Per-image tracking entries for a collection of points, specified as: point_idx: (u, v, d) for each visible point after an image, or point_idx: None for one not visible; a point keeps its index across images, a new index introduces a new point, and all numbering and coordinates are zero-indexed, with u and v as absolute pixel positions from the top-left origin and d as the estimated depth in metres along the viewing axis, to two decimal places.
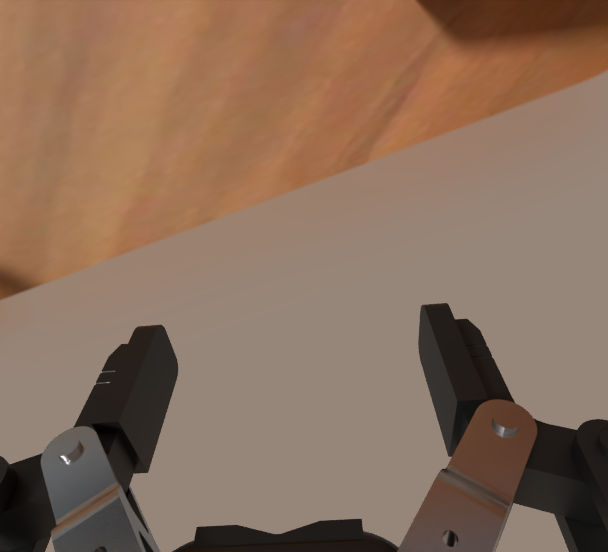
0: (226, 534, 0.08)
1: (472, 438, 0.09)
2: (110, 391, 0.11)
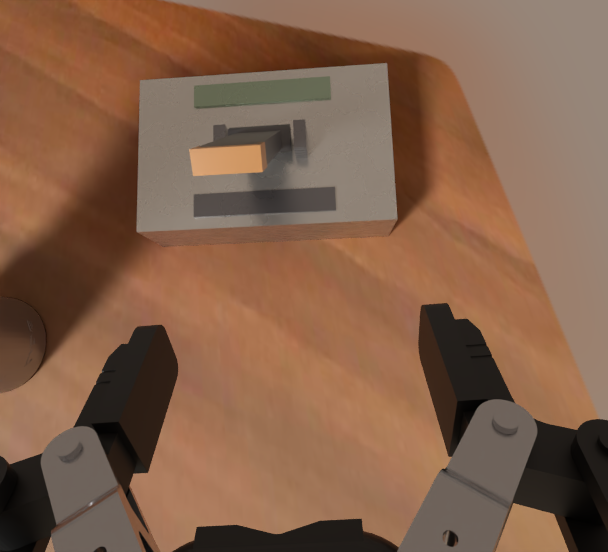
0: (225, 534, 0.08)
1: (472, 438, 0.09)
2: (110, 391, 0.11)
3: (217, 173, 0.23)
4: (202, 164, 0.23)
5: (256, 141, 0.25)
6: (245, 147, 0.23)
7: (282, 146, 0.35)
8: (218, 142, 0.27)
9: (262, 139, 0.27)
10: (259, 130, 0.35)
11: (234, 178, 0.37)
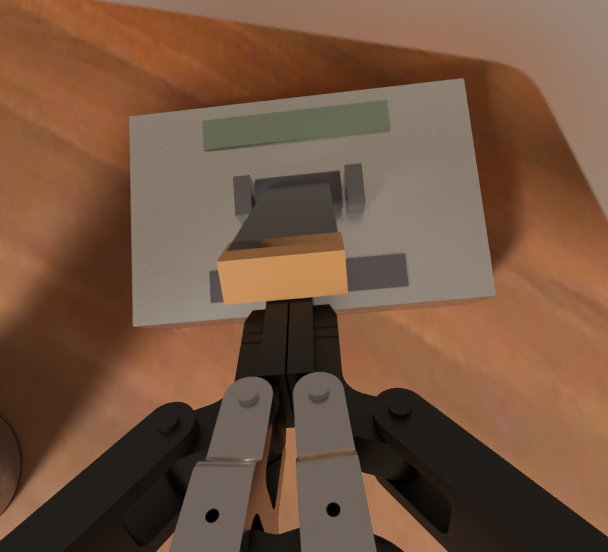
0: None
1: (302, 419, 0.10)
2: (264, 348, 0.12)
3: (267, 299, 0.13)
4: (240, 284, 0.13)
5: (323, 228, 0.15)
6: (318, 255, 0.13)
7: None
8: (257, 227, 0.16)
9: (327, 218, 0.16)
10: (298, 182, 0.25)
11: None
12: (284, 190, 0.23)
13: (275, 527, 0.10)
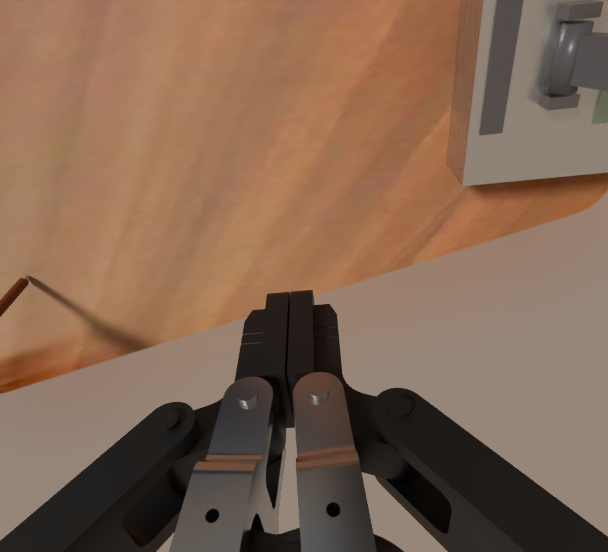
0: None
1: (302, 419, 0.10)
2: (265, 348, 0.12)
3: None
4: None
5: None
6: None
7: (571, 85, 0.35)
8: None
9: None
10: None
11: (534, 24, 0.35)
12: None
13: (275, 527, 0.10)
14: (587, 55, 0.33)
